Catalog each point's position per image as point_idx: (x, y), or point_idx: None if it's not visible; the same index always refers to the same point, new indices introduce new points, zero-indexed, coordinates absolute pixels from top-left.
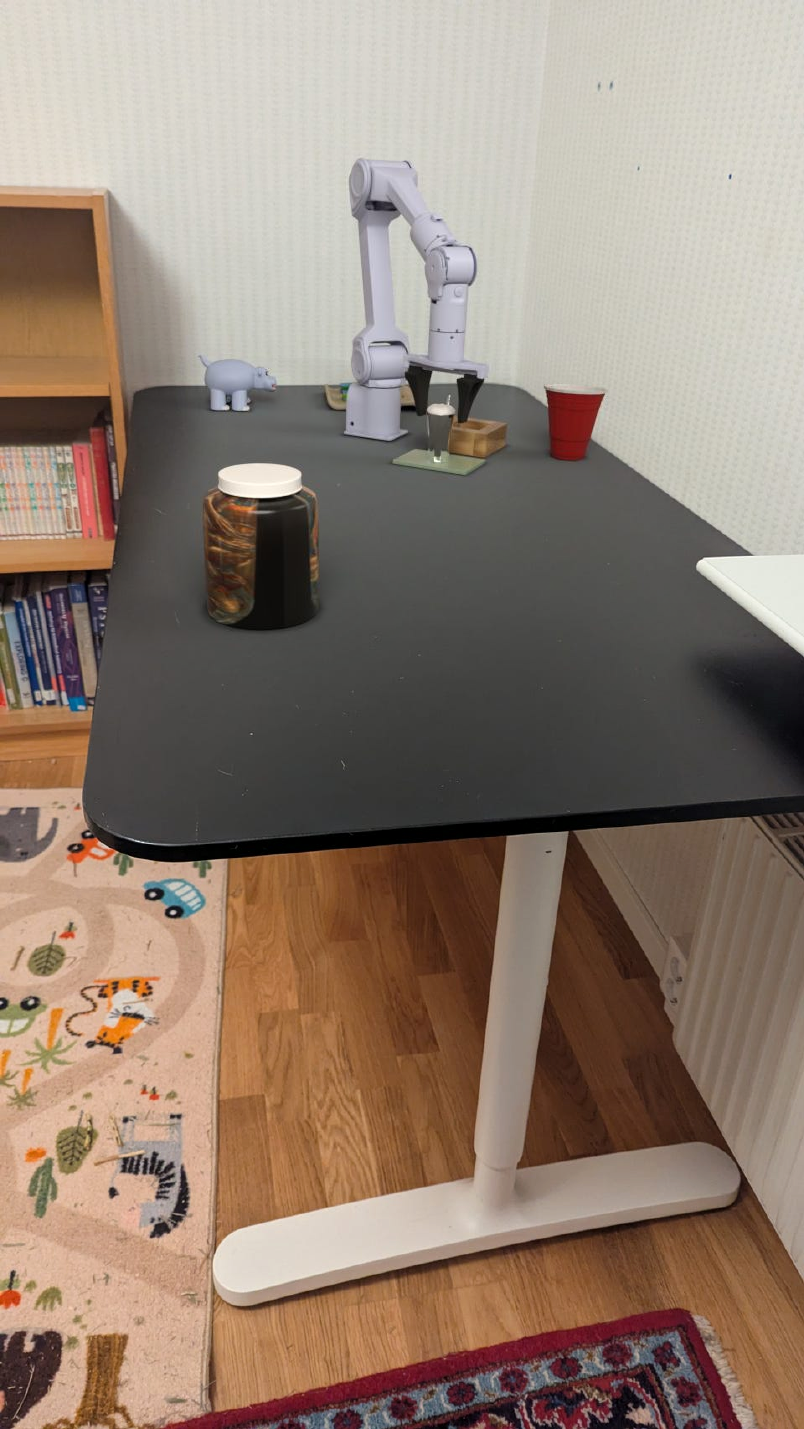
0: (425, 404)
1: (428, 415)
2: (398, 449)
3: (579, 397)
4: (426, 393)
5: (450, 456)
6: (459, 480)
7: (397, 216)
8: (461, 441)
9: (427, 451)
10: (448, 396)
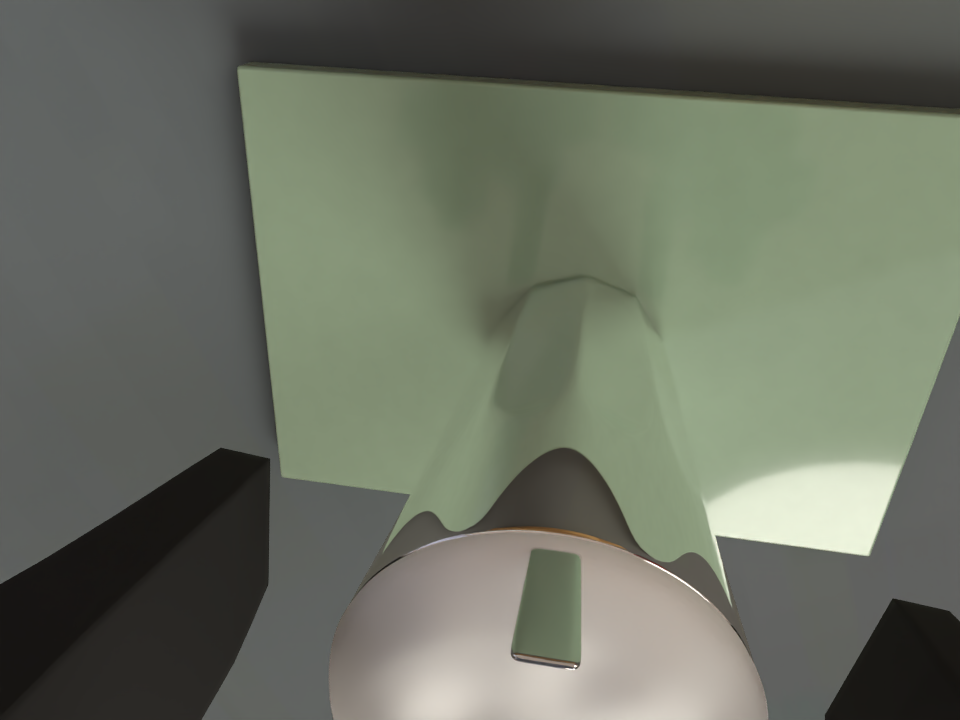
0: (195, 583)
1: None
2: (81, 25)
3: None
4: (74, 709)
5: (642, 176)
6: (835, 639)
7: None
8: None
9: (380, 105)
10: (539, 656)
